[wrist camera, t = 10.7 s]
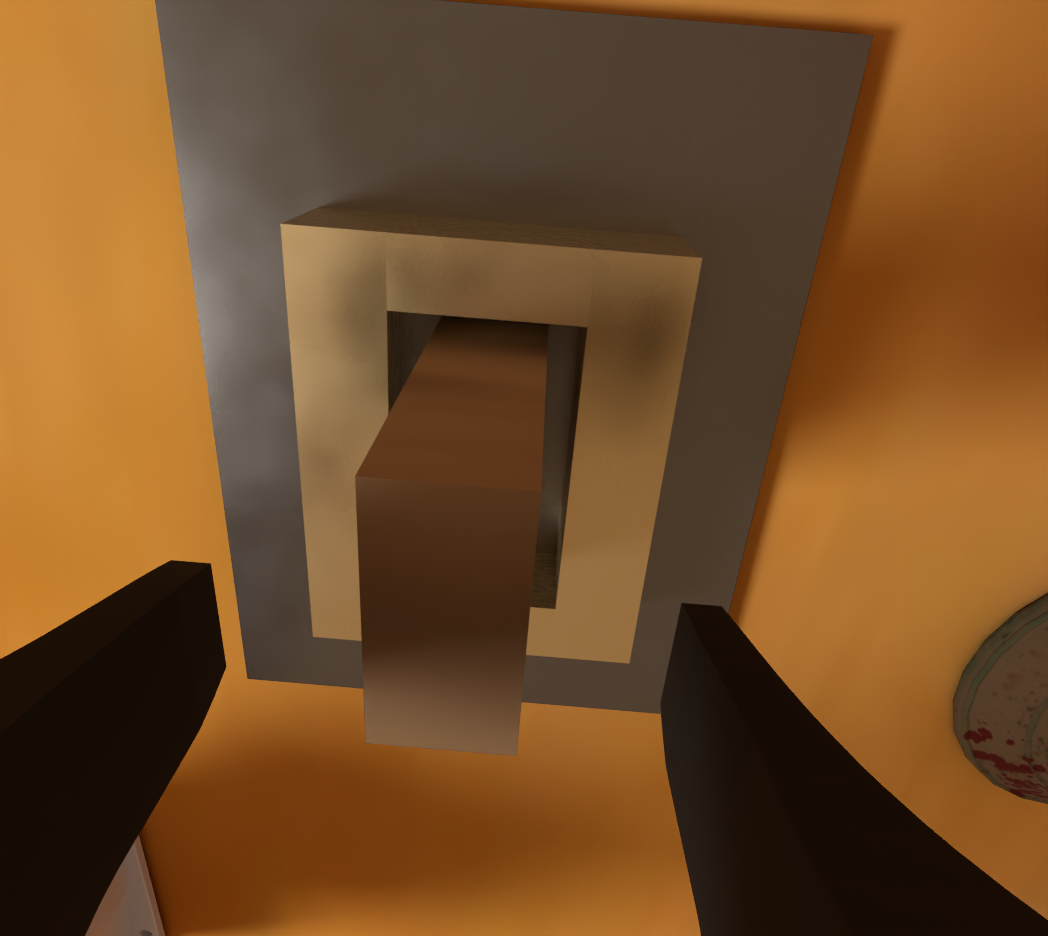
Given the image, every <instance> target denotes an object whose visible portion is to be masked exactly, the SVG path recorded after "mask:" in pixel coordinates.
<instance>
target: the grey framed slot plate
mask: <svg viewBox="0 0 1048 936" xmlns="http://www.w3.org/2000/svg"><path fill="white" fill-rule="evenodd" d="M155 3H156V11H157V18H158V25H159V33H160V40H161V47H162V55H163V62H164V69H165V77H166V84H167V91H168V99H169V106H170V113H171V121H172V128H173V136H174V143H175V150H176V158H177V165H178V172H179V180H180V187H181V194H182V202H183V209H184V216H185V224H186V231H187V238H188V246H189V253H190V260H191V268H192V275H193V282H194V290H195V297H196V304H197V312H198V319H199V326H200V334H201V341H202V348H203V356H204V363H205V370H206V378H207V385H208V392H209V400H210V407H211V414H212V422H213V429H214V436H215V444H216V451H217V458H218V466H219V473H220V480H221V488H222V495H223V502H224V510H225V517H226V524H227V532H228V539H229V546H230V554H231V561H232V568H233V576H234V583H235V590H236V598H237V605H238V612H239V620H240V627H241V634H242V642H243V649H244V656H245V664H246V671H247V678H248V679H257V680H269V681H281V682H292V683H304V684H316V685H328V686H339V687H351V688H363V664H362V639H361V614H360V589H359V563H358V538H357V513H356V488H355V475H356V474H357V472H358V470H359V468H360V466H361V464H362V462H363V461H364V459H365V457H366V455H367V453H368V451H369V450H370V448H371V446H372V444H373V442H374V440H375V439H376V437H377V435H378V433H379V431H380V429H381V427H382V426H383V424H384V422H385V420H386V418H387V416H388V415H389V413H390V411H391V409H392V407H393V405H394V404H395V402H396V400H397V398H398V396H399V394H400V392H401V391H402V389H403V387H404V385H405V383H406V381H407V380H408V378H409V376H410V374H411V372H412V370H413V369H414V367H415V365H416V363H417V361H418V359H419V357H420V356H421V354H422V352H423V350H424V348H425V346H426V345H427V343H428V341H429V339H430V337H431V335H432V333H433V332H434V330H435V328H436V326H437V324H438V322H439V321H440V319H441V317H446V318H459V319H471V320H483V321H495V322H507V323H520V324H532V325H544V326H549V327H548V349H547V372H546V395H545V417H544V440H543V462H542V485H541V499H540V510H539V520H538V531H537V542H536V552H535V563H534V574H533V584H532V595H531V606H530V616H529V627H528V637H527V648H526V659H525V669H524V680H523V691H522V701H521V702H528V703H540V704H551V705H563V706H575V707H587V708H599V709H610V710H622V711H634V712H646V713H657V714H661V706H660V702H661V697H662V692H663V688H664V683H665V678H666V674H667V669H668V664H669V659H670V655H671V650H672V645H673V641H674V636H675V631H676V626H677V622H678V617H679V612H680V607H681V603H690V604H702V605H714V606H722V607H723V608H724V610H725V611H726V612H727V613H729V609H730V605H731V601H732V597H733V593H734V589H735V585H736V581H737V577H738V573H739V569H740V565H741V561H742V557H743V553H744V549H745V545H746V541H747V537H748V533H749V529H750V525H751V521H752V517H753V513H754V509H755V505H756V501H757V497H758V493H759V489H760V485H761V481H762V477H763V473H764V469H765V465H766V461H767V457H768V453H769V449H770V445H771V441H772V437H773V433H774V429H775V425H776V422H777V418H778V414H779V410H780V406H781V402H782V398H783V394H784V390H785V386H786V382H787V378H788V374H789V370H790V366H791V362H792V358H793V354H794V350H795V346H796V342H797V338H798V334H799V330H800V326H801V322H802V318H803V314H804V310H805V306H806V302H807V298H808V294H809V290H810V286H811V282H812V278H813V274H814V270H815V266H816V262H817V258H818V254H819V250H820V246H821V242H822V238H823V234H824V230H825V226H826V222H827V218H828V214H829V211H830V207H831V203H832V199H833V195H834V191H835V187H836V183H837V179H838V175H839V171H840V167H841V163H842V159H843V155H844V151H845V147H846V143H847V139H848V135H849V131H850V127H851V123H852V119H853V115H854V111H855V107H856V103H857V99H858V95H859V91H860V87H861V83H862V79H863V75H864V71H865V67H866V63H867V59H868V55H869V51H870V47H871V43H872V39H873V35H867V34H855V33H842V32H830V31H817V30H804V29H792V28H779V27H767V26H754V25H742V24H729V23H716V22H704V21H691V20H679V19H666V18H654V17H641V16H629V15H616V14H603V13H591V12H578V11H566V10H553V9H541V8H528V7H515V6H503V5H490V4H478V3H465V2H453V1H440V0H155Z"/></svg>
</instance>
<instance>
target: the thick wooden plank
mask: <svg viewBox="0 0 1048 936" xmlns="http://www.w3.org/2000/svg"><path fill="white" fill-rule="evenodd" d="M548 327H549V326H544V325H532V324H520V323H507V322H495V321H483V320H471V319H459V318H446V317H441V319H440V321H439V322H438V324H437V326H436V328H435V330H434V332H433V333H432V335H431V337H430V339H429V341H428V343H427V345H426V346H425V348H424V350H423V352H422V354H421V356H420V357H419V359H418V361H417V363H416V365H415V367H414V369H413V370H412V372H411V374H410V376H409V378H408V380H407V381H406V383H405V385H404V387H403V389H402V391H401V392H400V394H399V396H398V398H397V400H396V402H395V404H394V405H393V407H392V409H391V411H390V413H389V415H388V416H387V418H386V420H385V422H384V424H383V426H382V427H381V429H380V431H379V433H378V435H377V437H376V439H375V440H374V442H373V444H372V446H371V448H370V450H369V451H368V453H367V455H366V457H365V459H364V461H363V462H362V464H361V466H360V468H359V470H358V472H357V474H356V475H355V488H356V513H357V538H358V563H359V589H360V614H361V639H362V664H363V689H364V714H365V739H366V743H369V744H381V745H393V746H405V747H416V748H428V749H440V750H451V751H463V752H475V753H487V754H498V755H510V756H516V754H517V744H518V733H519V723H520V712H521V701H522V691H523V680H524V669H525V659H526V648H527V637H528V627H529V616H530V606H531V595H532V584H533V574H534V563H535V552H536V542H537V531H538V520H539V510H540V499H541V485H542V462H543V440H544V417H545V395H546V372H547V349H548Z"/></svg>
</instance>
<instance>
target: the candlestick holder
mask: <svg viewBox="0 0 1048 936" xmlns="http://www.w3.org/2000/svg"><path fill="white" fill-rule="evenodd" d="M953 721H954V732H955V734H956V736H957V739H958V741H959V743H960V745H961V748H962V750H963V752H964V754H965V756H966V757H967V759H968V760H969V761H970V762H971V763H972V764H973V765H974V766H975V767H976V768H977V769H978V770H979V771H980V772H981V773H982V774H984V775H985V776H986V777H987V778H988V779H989V780H990V781H991V782H992V783H993V784H994V785H996V786H998V787H1000V788H1002V789H1004V790H1006V791H1008V792H1010V793H1013V794H1015V795H1017V796H1019V797H1021V798H1024V799H1028V800H1033V801H1037V802H1042V803H1046V804H1048V595H1046V596H1044V597H1043V598H1041V599H1039V600H1038V601H1036V602H1034V603H1033V604H1031V605H1029V606H1027V607H1026V608H1024V609H1022V610H1021V611H1019V612H1017V613H1016V614H1015V615H1013V616H1012V617H1011V618H1010V619H1009V620H1008V621H1007V622H1006V623H1004V624H1003V625H1002V626H1001V627H1000V628H999V629H998V630H997V631H995V632H994V633H993V634H992V635H991V636H990V637H989V638H988V639H986V640H985V641H984V642H983V644H982V645H981V647H980V648H979V650H978V651H977V652H976V654H975V655H974V657H973V658H972V659H971V661H970V662H969V664H968V665H967V666H966V668H965V669H964V671H963V673H962V676H961V679H960V682H959V685H958V688H957V691H956V693H955V696H954V699H953Z"/></svg>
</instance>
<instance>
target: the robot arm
mask: <svg viewBox="0 0 1048 936" xmlns="http://www.w3.org/2000/svg"><path fill="white" fill-rule="evenodd" d="M225 669H226V661H225V655H224V648H223V641H222V635H221V628H220V622H219V615H218V608H217V602H216V595H215V589H214V582H213V575H212V569H211V564H210V563H198V562H185V561H173V560H171V561H169V562H167V563H165V564H163V565H161V566H159V567H158V568H156V569H154V570H152V571H150V572H149V573H147V574H145V575H144V576H142V577H140V578H138V579H137V580H135V581H133V582H132V583H130V584H128V585H127V586H125V587H123V588H122V589H120V590H118V591H117V592H115V593H113V594H112V595H110V596H108V597H107V598H105V599H103V600H102V601H100V602H99V603H97V604H95V605H94V606H92V607H90V608H88V609H87V610H85V611H83V612H82V613H80V614H78V615H77V616H75V617H73V618H72V619H70V620H68V621H67V622H65V623H63V624H62V625H60V626H58V627H57V628H55V629H53V630H52V631H50V632H48V633H46V634H45V635H43V636H41V637H40V638H38V639H36V640H34V641H32V642H31V643H29V644H27V645H25V646H23V647H22V648H20V649H18V650H16V651H14V652H12V653H11V654H9V655H7V656H5V657H3V658H2V659H0V936H165V933H164V929H163V925H162V922H161V918H160V914H159V910H158V906H157V903H156V899H155V895H154V891H153V887H152V883H151V880H150V876H149V872H148V868H147V864H146V860H145V857H144V853H143V849H142V845H141V841H140V837H139V833H140V832H141V830H142V828H143V826H144V825H145V823H146V821H147V820H148V818H149V816H150V815H151V813H152V811H153V809H154V808H155V806H156V804H157V803H158V801H159V799H160V797H161V796H162V794H163V792H164V791H165V789H166V787H167V786H168V784H169V782H170V780H171V779H172V777H173V775H174V774H175V772H176V770H177V768H178V767H179V765H180V763H181V761H182V760H183V758H184V756H185V754H186V753H187V751H188V749H189V748H190V746H191V744H192V742H193V741H194V739H195V737H196V735H197V733H198V732H199V730H200V728H201V726H202V724H203V721H204V719H205V717H206V715H207V712H208V710H209V708H210V705H211V703H212V701H213V699H214V696H215V694H216V691H217V689H218V686H219V684H220V681H221V679H222V676H223V674H224V671H225ZM660 706H661V718H662V730H663V741H664V751H665V761H666V769H667V774H668V779H669V784H670V788H671V793H672V798H673V803H674V807H675V812H676V817H677V822H678V826H679V831H680V836H681V840H682V845H683V850H684V854H685V859H686V863H687V868H688V873H689V877H690V882H691V887H692V891H693V896H694V901H695V905H696V910H697V915H698V920H699V926H700V931H701V936H1048V920H1047V919H1045V918H1044V917H1043V916H1041V915H1040V914H1039V913H1037V912H1036V911H1035V910H1033V909H1032V908H1031V907H1029V906H1028V905H1027V904H1025V903H1024V902H1022V901H1021V900H1020V899H1018V898H1017V897H1016V896H1014V895H1013V894H1012V893H1010V892H1009V891H1008V890H1006V889H1005V888H1004V887H1002V886H1001V885H1000V884H999V883H997V882H996V881H995V880H994V879H992V878H991V877H990V876H989V875H987V874H986V873H985V872H983V871H982V870H981V869H980V868H978V867H977V866H976V865H975V864H973V863H972V862H971V861H970V860H968V859H967V858H966V857H965V856H963V855H962V854H961V853H959V852H958V851H957V850H956V849H954V848H953V847H952V846H951V845H950V844H948V843H947V842H946V841H945V840H944V839H942V838H941V837H940V836H939V835H938V834H936V833H935V832H934V831H933V830H932V829H930V828H929V827H928V826H927V825H926V824H925V823H923V822H922V821H921V820H920V819H919V818H918V817H917V816H916V815H915V814H913V813H912V812H911V811H910V810H909V809H908V808H907V807H906V806H905V805H903V804H902V803H901V802H900V801H899V800H898V799H897V798H896V797H894V796H893V795H892V794H891V793H890V792H889V791H888V790H887V789H886V788H884V787H883V786H882V785H881V784H880V783H879V782H878V781H877V780H876V779H875V778H874V777H873V776H872V775H871V774H870V773H869V772H868V771H867V770H865V769H864V768H863V767H862V766H861V765H860V764H859V763H858V762H857V761H856V760H855V759H854V758H853V757H852V756H851V755H850V753H849V752H848V751H847V750H846V749H845V748H844V747H843V746H842V745H841V744H840V743H839V742H838V741H837V740H836V739H835V738H834V737H833V736H832V735H831V734H830V733H829V732H828V731H827V730H826V729H825V728H824V727H823V726H822V724H821V723H820V722H819V721H818V720H817V719H816V718H815V717H814V716H813V715H812V714H811V713H810V711H809V710H808V709H807V708H806V707H805V706H804V705H803V704H802V702H801V701H800V700H799V699H798V698H797V697H796V696H795V694H794V693H793V692H792V691H791V690H790V689H789V688H788V686H787V685H786V684H785V683H784V682H783V681H782V679H781V678H780V677H779V676H778V675H777V673H776V672H775V671H774V670H773V669H772V667H771V666H770V665H769V664H768V663H767V661H766V660H765V659H764V658H763V656H762V655H761V654H760V653H759V652H758V650H757V649H756V648H755V647H754V645H753V644H752V643H751V642H750V640H749V639H748V638H747V637H746V635H745V634H744V633H743V632H742V631H741V629H740V628H739V627H738V626H737V624H736V623H735V622H734V621H733V619H732V618H731V617H730V616H729V614H728V613H727V612H726V611H725V610H724V608H723V607H722V606H714V605H702V604H690V603H681V607H680V612H679V617H678V622H677V626H676V631H675V636H674V641H673V645H672V650H671V655H670V659H669V664H668V669H667V674H666V678H665V683H664V688H663V692H662V697H661V702H660Z"/></svg>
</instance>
